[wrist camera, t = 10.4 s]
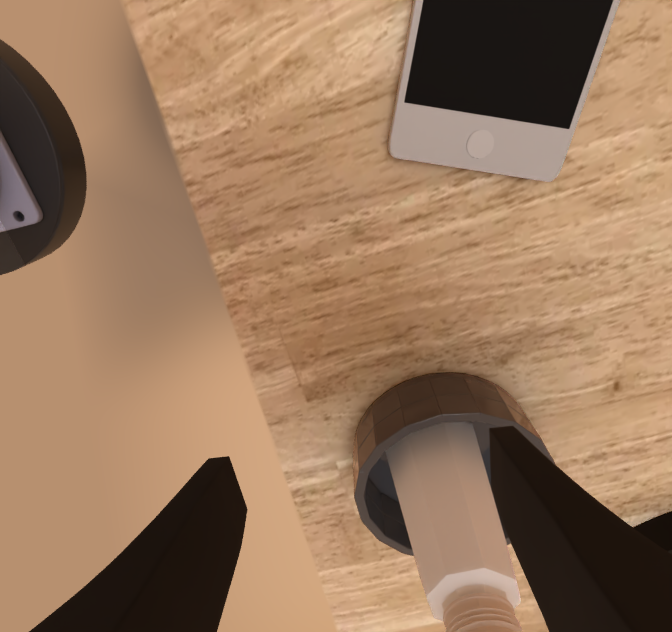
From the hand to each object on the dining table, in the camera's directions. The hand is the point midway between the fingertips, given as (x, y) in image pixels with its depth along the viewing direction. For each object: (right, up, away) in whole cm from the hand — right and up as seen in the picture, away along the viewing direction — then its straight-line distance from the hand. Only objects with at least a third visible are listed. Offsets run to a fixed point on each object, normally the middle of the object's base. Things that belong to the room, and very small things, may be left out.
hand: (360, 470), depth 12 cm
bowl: (+5, -3, +13) cm, 14 cm away
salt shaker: (+5, -3, +12) cm, 14 cm away
